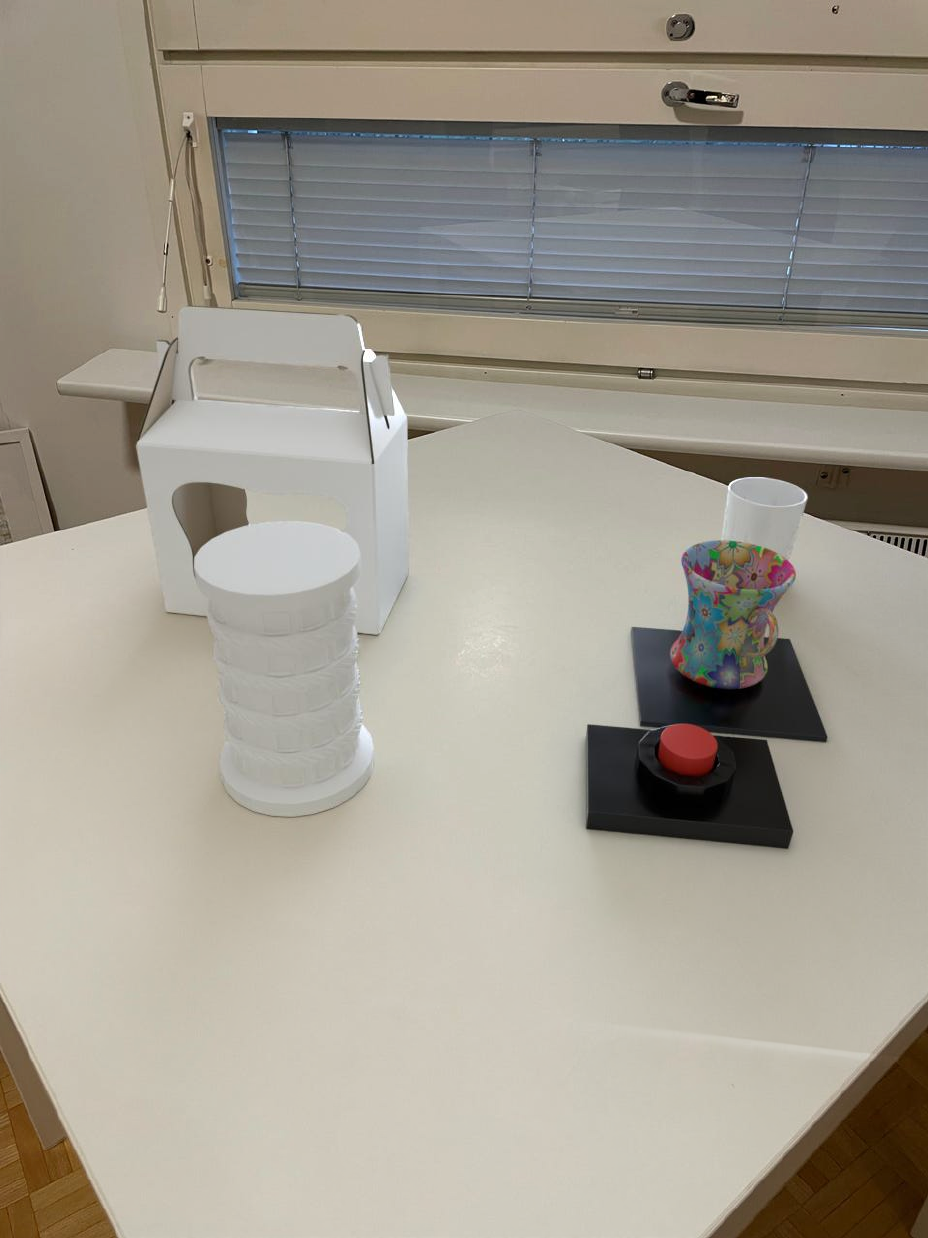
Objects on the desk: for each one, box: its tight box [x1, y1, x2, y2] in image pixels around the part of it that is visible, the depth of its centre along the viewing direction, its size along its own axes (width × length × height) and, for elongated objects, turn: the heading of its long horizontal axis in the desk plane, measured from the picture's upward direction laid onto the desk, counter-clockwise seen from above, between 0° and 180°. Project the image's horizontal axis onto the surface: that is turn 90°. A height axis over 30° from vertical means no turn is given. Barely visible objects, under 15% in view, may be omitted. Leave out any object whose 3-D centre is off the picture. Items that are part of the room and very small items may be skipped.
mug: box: [670, 539, 797, 689], centre depth 75 cm, size 12×9×11 cm
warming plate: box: [630, 626, 829, 743], centre depth 78 cm, size 15×15×1 cm
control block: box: [584, 723, 794, 850], centre depth 64 cm, size 14×10×4 cm
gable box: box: [135, 304, 410, 636], centre depth 83 cm, size 22×13×28 cm, turn 81°
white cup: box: [721, 476, 809, 562], centre depth 93 cm, size 8×8×10 cm
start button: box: [658, 724, 718, 776], centre depth 63 cm, size 4×4×2 cm
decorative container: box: [194, 520, 375, 818], centre depth 62 cm, size 12×12×18 cm
